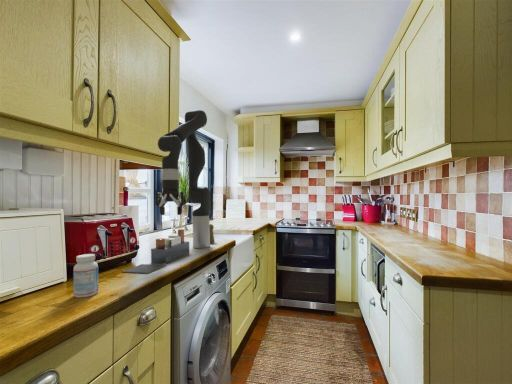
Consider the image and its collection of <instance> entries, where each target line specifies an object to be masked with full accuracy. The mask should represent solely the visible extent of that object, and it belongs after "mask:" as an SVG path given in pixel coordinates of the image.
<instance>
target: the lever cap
mask: <svg viewBox="0 0 512 384" xmlns="http://www.w3.org/2000/svg"><path fill="white" fill-rule="evenodd" d="M163 239H165V247H172V246H175V245H178V244H181V237H179V235H178V234H172V235H171V234H170V235H168V236H167V237H164V238H163Z"/></svg>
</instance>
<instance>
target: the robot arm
mask: <svg viewBox="0 0 512 384" xmlns="http://www.w3.org/2000/svg"><path fill="white" fill-rule="evenodd" d="M207 117H208V116H207V114H206V112H205V111H204V110H202V109H197V110H196V109H195V110H189V111H186V112H185V114H184V122H183V123H181V124H180V125H177V127H175V128H174V129H173V130H171V131H170V132H167V133H166V134H165V133H164V134H163V135H162V136H160V137H159V138H158V141H157V147H158V149H159V150H160V151H161V152H164V153H166V152H167V153H168V152H169V153H168V155H166V156H162V160H161V190H162V192H156V193H155V206H157V207H159V214H160V216H165V215H166V211H165V209H166V208H165V205H166V204H168V202H169V203H170V202H174V203H175V204H176V206H177V207H176V208H177V209H176V211H177V213H176V214H177V216H180V215H181V216H182V214H183V206H185V205H187V196H186V192H185V191H180V174H179V173H180V172H179V159H180V155H181V151H182V145H183V143H184V142H185V141H186V140H187V161H188V200H189V202H190V203H191V204H198V205H199V204H200V205H199V207H198V208H197V209H194V210H192V217H191V218H192V220H191V221H192V248H195V249H205V248H209V247H210V246H211V243H210V227H209V224H210V209H211V192H210V191H211V190H210V189H209V187H207V186H198V185H199V183H198V182H199V178H200V175H201V174H202V171H203V169H204V167H205V165H206V153H205V149H204V147H203V146H202V144H201V143H200V142H199V139H198V137H197V136H196V132H197V131H198V130H200V129H202V128H203V127H205V126H206V125H207V122H208V118H207ZM179 197H180V198H179Z"/></svg>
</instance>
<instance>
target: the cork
mask: <svg viewBox="0 0 512 384" xmlns="http://www.w3.org/2000/svg"><path fill="white" fill-rule="evenodd" d="M209 227H210V244H214V243H215V236H214V225H213V224H210V223H209ZM213 242H214V243H213Z"/></svg>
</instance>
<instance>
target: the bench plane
mask: <svg viewBox="0 0 512 384" xmlns="http://www.w3.org/2000/svg"><path fill="white" fill-rule="evenodd" d="M177 235H179V237H181V244H178V245H175V246H172V247H165V239H164V238H156V239H155V247H153V248H151V249H150V260H151V261H150V262H151V263H150V264H155V265H167V264H169V263H171V262H173V261H176V260H178V259H181V258H183V257H185V256H187V255H190V241H187V240H186V241H185V229H184V228H183V229H182V228H181V229H180V228H179V229H177Z"/></svg>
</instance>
